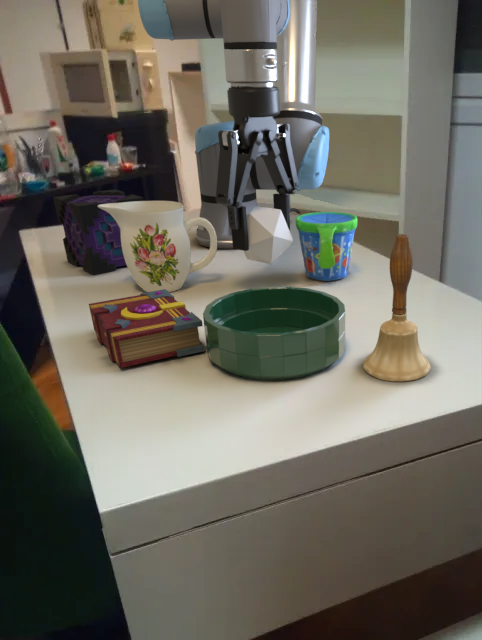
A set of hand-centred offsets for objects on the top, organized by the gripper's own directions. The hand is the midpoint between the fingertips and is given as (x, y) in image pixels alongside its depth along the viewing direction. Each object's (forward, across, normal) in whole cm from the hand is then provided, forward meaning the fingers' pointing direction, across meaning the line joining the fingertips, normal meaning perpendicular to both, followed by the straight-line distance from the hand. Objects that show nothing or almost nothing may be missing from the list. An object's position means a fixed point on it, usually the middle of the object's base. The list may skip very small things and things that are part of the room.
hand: (262, 241), depth 97 cm
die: (+3, 0, 0) cm, 3 cm away
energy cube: (+8, -5, +35) cm, 36 cm away
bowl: (+7, -20, -19) cm, 29 cm away
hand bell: (+7, -15, -34) cm, 38 cm away
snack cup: (+8, +11, -5) cm, 14 cm away
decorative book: (+7, -28, -2) cm, 29 cm away
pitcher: (+8, -9, +14) cm, 18 cm away
